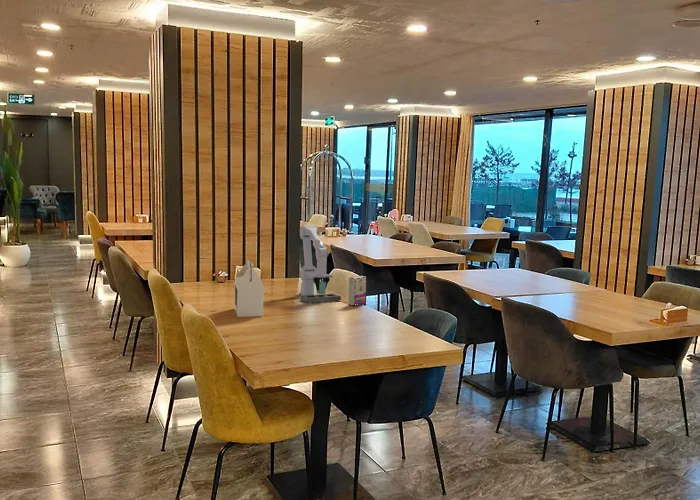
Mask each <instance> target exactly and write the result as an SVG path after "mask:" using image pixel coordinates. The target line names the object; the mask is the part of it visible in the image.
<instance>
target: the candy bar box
mask: <svg viewBox="0 0 700 500" xmlns="http://www.w3.org/2000/svg"><path fill="white" fill-rule="evenodd" d="M366 300H367V276H364V275H359V276H353V277H352V276H351V277H349V278H348V305H349V304H351V305H355V304H356V305H357V304H358V306H361V305H366V303H367V301H366Z"/></svg>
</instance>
